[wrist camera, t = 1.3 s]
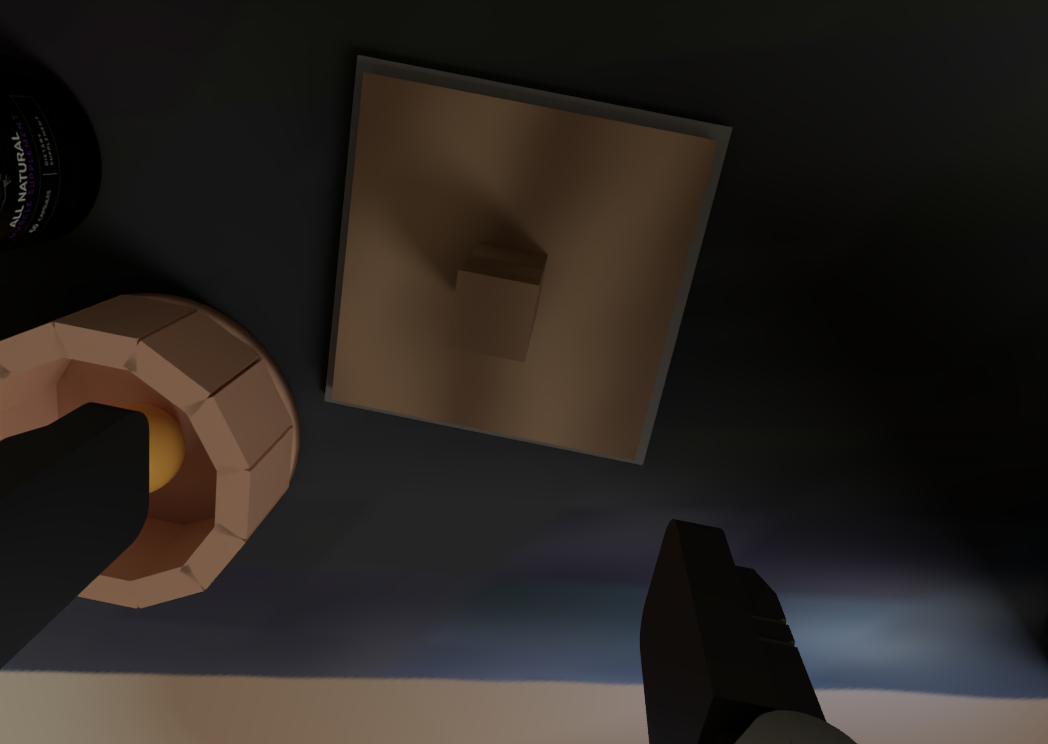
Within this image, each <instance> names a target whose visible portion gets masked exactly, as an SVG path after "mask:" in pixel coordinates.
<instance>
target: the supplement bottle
mask: <svg viewBox="0 0 1048 744" xmlns="http://www.w3.org/2000/svg"><path fill="white" fill-rule="evenodd" d="M101 176H102V163H101V154H100V148H99V144H98V140H97V137H96V134H95V132H94V129H93V127H92V124H91V122H90V120H89V118H88V116H87V115H86V113H85V111H84V110H83V108H82V107H81V105H80V104H79V103H78V101H77V100H76V99H75V97H74V96H73V95H72V94H71V93H70V92H69V90H68V89H67V88H66V87H65V86H64V85H62V84H61V83H60V82H59V81H58V80H57V79H56V78H54V77H53V76H52V75H50V74H49V73H47V72H46V71H44V70H43V69H41V68H39V67H37V66H36V65H34V64H32V63H30V62H27V61H25V60H22V59H20V58H17V57H13V56H9V55H5V54H0V253H2V252H7V251H12V250H16V249H21V248H25V247H30V246H33V245H38V244H42V243H46V242H49V241H53V240H55V239H58V238H60V237H63V236H64V235H66V234H68V233H70V232H71V231H72V230H74V229H75V228H76V227H77V226H79V225H80V224H81V223H82V222H83V221H84V219H85V218H86V217H87V216H88V214H89V213H90V211H91V209H92V208H93V206H94V203H95V201H96V199H97V196H98V193H99V189H100V184H101Z"/></svg>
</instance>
